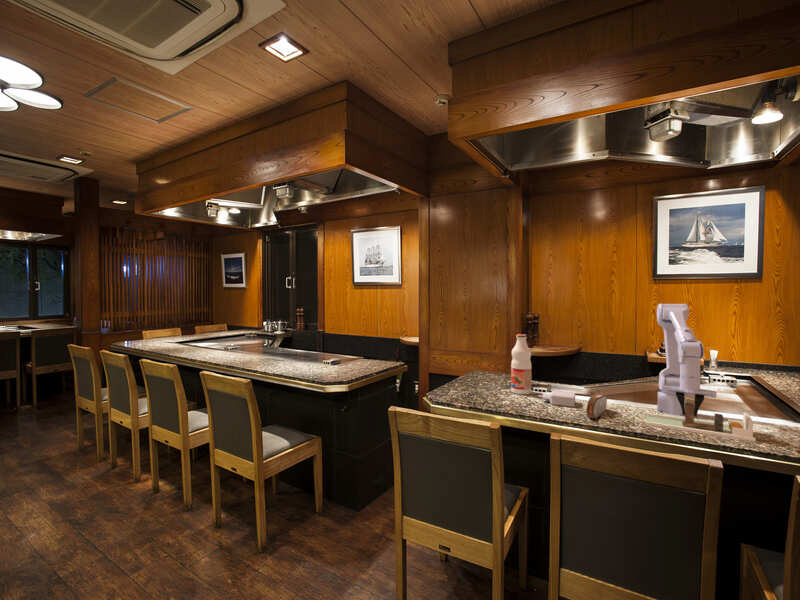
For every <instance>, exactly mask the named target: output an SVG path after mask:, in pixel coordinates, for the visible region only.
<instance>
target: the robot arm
mask: <svg viewBox="0 0 800 600" xmlns="http://www.w3.org/2000/svg"><path fill="white" fill-rule="evenodd" d="M689 316H690V307H689V306H688V305H687V303H659V304H658V305H657V306H656V322H657V325H658V326H660V327H661V328H662V330H663V337H664V349H665V362H666V363H665V364H666V367H665V368H664V369H662V370H661V371H660V372H659V375H658V388H659V390H660V391H657V405H656V411H657V413H662V414H668V415H672V416H685V403H687V396H688V395H692V396H694V418H697V417H698V413H699V409H700V407H701V405H702V404H703V402H704V400H705V397H708V398H713V399H714V398H715V399H716V398H717V391H716V390H710V389H702V388H701V360H702V359H703V357H704V352H705V351H704V345H703V343H702V341H700V340H698V339H697V337H696V336H695V332H694V331H693V329H692V328H691V327H688V324H687V320H688V318H689Z"/></svg>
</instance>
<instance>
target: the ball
mask: <svg viewBox="0 0 800 600" xmlns="http://www.w3.org/2000/svg"><path fill="white" fill-rule="evenodd" d="M732 427H735V428H742V429H743V426H742V425H741V424H740V423H737V422H733V423H731V424H730V425H729V428H730V430H731V431H732Z"/></svg>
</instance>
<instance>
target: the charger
mask: <svg viewBox="0 0 800 600" xmlns="http://www.w3.org/2000/svg"><path fill="white" fill-rule="evenodd" d="M537 397H539V398H542V400H543V401H549V404H551V405H552V404H553V406H559V405H561V406H562V407H568V406H569V408H575V406H574V405H575V404H576V392H573V391H572V392H571V391H564V390H563V391H562V390H552V391H551V392H550V393H545V392H544V393H542V394H538V395H537Z"/></svg>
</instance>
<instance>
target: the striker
mask: <svg viewBox="0 0 800 600" xmlns="http://www.w3.org/2000/svg"><path fill="white" fill-rule="evenodd" d="M694 406H695V403H689V402H686V403H685V415H684V418H685V421H683V420H682V426H689V427H695V428H702V429H709V430H715V431H722V432H723V424H724V416H723V414H722V413H714V421H713V422H714V425H710V424H703V423H696V422H694V419H695V417H694Z"/></svg>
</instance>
